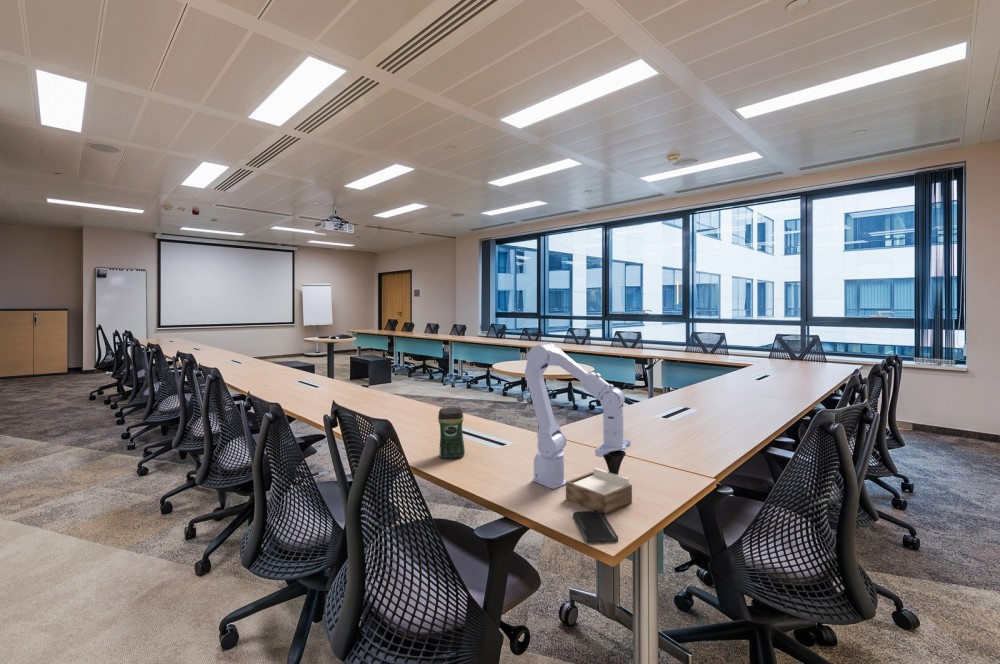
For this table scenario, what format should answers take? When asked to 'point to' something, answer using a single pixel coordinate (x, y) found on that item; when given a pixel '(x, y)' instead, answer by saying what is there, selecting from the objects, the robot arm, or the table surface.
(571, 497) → the box
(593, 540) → the phone
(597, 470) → the lid
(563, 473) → the robot arm
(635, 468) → the table surface
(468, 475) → the table surface
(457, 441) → the coffee jar
